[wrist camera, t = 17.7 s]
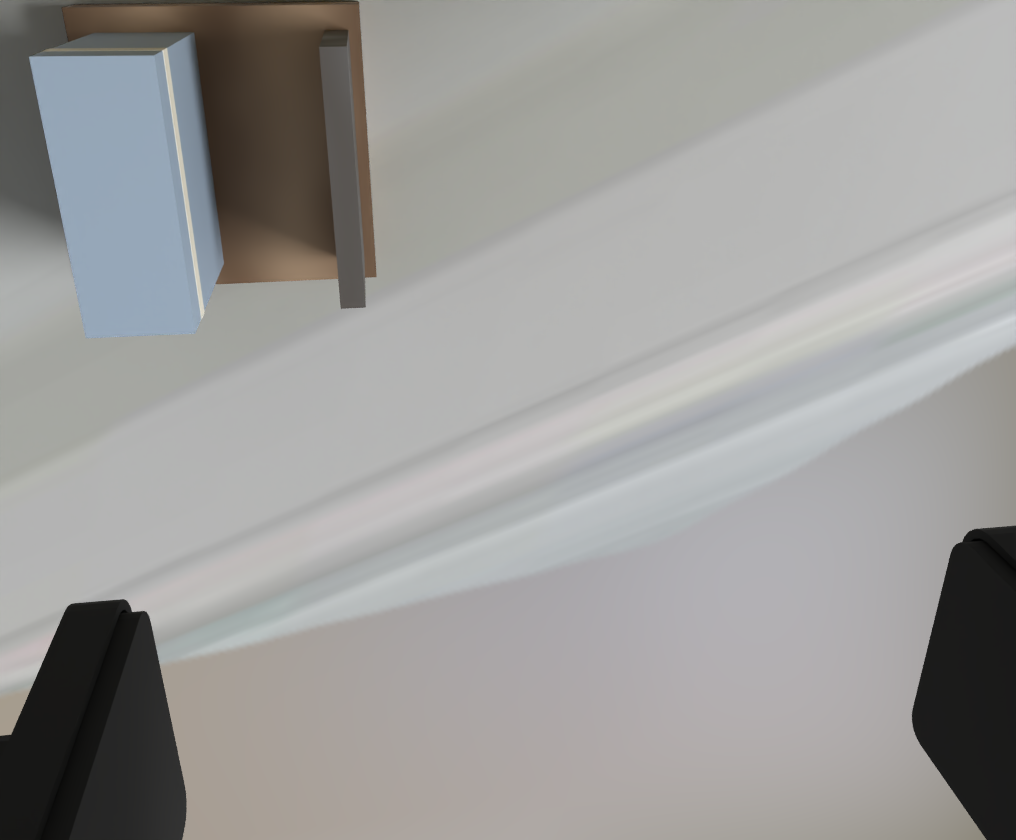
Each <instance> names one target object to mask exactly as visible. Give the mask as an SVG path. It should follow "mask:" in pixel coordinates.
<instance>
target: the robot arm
mask: <svg viewBox="0 0 1016 840" xmlns="http://www.w3.org/2000/svg"><path fill="white" fill-rule="evenodd" d="M912 723H913V728H914V732H915V735H916V737H917V739H918V741H919V743H920V745H921V746H922V748H923V749H924V750H925V752H926V753H927V755H928V756H929V757H930V759H931V761H932V762H933V763H934V765H935V766H936V767H937V769H938V770H939V772H940V773H941V775H942V776H943V778H944V779H945V780H946V782H947V783H948V785H949V786H950V788H951V789H952V790H953V792H954V793H955V795H956V796H957V798H958V799H959V801H960V802H961V803H962V805H963V806H964V808H965V809H966V811H967V812H968V814H969V815H970V816H971V818H972V819H973V821H974V822H975V823H976V825H977V826H978V828H979V829H980V831H981V832H982V834H983V835H984V836H985V838H986V839H987V840H1016V526H1007V527H995V528H983V529H974V530H972V531H969V532H968V533H967V534H966V536H965V537H964V539H963V542H961V543H958V544H956V545H955V546H954V547H953V549H952V552H951V555H950V558H949V563H948V567H947V571H946V575H945V579H944V583H943V587H942V591H941V596H940V599H939V604H938V608H937V612H936V616H935V620H934V624H933V628H932V632H931V636H930V640H929V645H928V649H927V653H926V657H925V661H924V665H923V669H922V673H921V677H920V682H919V686H918V690H917V695H916V698H915V702H914V706H913V711H912ZM185 821H186V791H185V785H184V780H183V776H182V771H181V766H180V761H179V756H178V751H177V746H176V742H175V737H174V732H173V727H172V722H171V718H170V713H169V708H168V703H167V698H166V694H165V689H164V684H163V679H162V675H161V670H160V665H159V660H158V655H157V650H156V646H155V641H154V636H153V631H152V626H151V622H150V618H149V616H148V614H147V612H145V611H140V612H132V611H131V607H130V605H129V603H128V602H127V601H126V600H124V599H122V600H110V601H98V602H86V603H74V604H71V605H69V606H68V607H67V609H66V610H65V612H64V615H63V617H62V619H61V621H60V624H59V626H58V628H57V631H56V633H55V635H54V638H53V640H52V642H51V644H50V647H49V649H48V651H47V654H46V656H45V658H44V661H43V663H42V665H41V667H40V670H39V672H38V674H37V677H36V679H35V681H34V684H33V686H32V688H31V691H30V693H29V695H28V697H27V700H26V702H25V704H24V707H23V709H22V711H21V714H20V716H19V718H18V720H17V723H16V725H15V728H14V730H13V732H12V734H11V735H5V736H0V840H182V837H183V832H184V827H185Z"/></svg>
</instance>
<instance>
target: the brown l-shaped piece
mask: <svg viewBox="0 0 1016 840" xmlns="http://www.w3.org/2000/svg"><path fill="white" fill-rule="evenodd" d="M62 12H63V17H64V22H65V28H66V33H67V38H68V42H70V41H73V40H76V39H79V38H81V37H84V36H87V35H90V34H92V33H146V32H194V35H195V43H196V51H197V58H198V66H199V74H200V82H201V89H202V97H203V105H204V113H205V120H206V128H207V136H208V143H209V151H210V159H211V167H212V174H213V182H214V190H215V198H216V205H217V213H218V221H219V229H220V236H221V244H222V252H223V260H224V264H223V267H222V269H221V272H220V274H219V277H218V279H217V281H216V284H232V283H254V282H276V281H299V280H321V279H338V281H339V293H340V305H341V309H342V308H363V307H366V304H365V278H366V277H376V261H375V246H374V230H373V215H372V200H371V184H370V169H369V153H368V138H367V123H366V107H365V92H364V76H363V61H362V46H361V30H360V15H359V2H279V3H179V4H78V5H70V6H66V7H62Z"/></svg>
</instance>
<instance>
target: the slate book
mask: <svg viewBox="0 0 1016 840" xmlns="http://www.w3.org/2000/svg"><path fill="white" fill-rule="evenodd" d="M29 60H30V65H31V70H32V74H33V79H34V84H35V89H36V94H37V99H38V104H39V109H40V114H41V119H42V124H43V129H44V134H45V139H46V144H47V149H48V154H49V158H50V163H51V168H52V173H53V178H54V183H55V188H56V193H57V198H58V203H59V208H60V213H61V218H62V223H63V228H64V233H65V238H66V243H67V247H68V252H69V257H70V262H71V267H72V272H73V277H74V282H75V287H76V292H77V297H78V302H79V307H80V312H81V317H82V322H83V327H84V331H85V336H86V338H102V337H125V336H148V335H171V334H194V333H196V330H197V328H198V325H199V323H200V320H201V319H202V317H203V315H204V313H205V312H204V311H205V308H206V306H207V303H208V301H209V299H210V296H211V294H212V291H213V289H214V286H215V284H216V281H217V279H218V277H219V274H220V272H221V269H222V267H223V264H224V260H223V252H222V244H221V236H220V229H219V221H218V213H217V205H216V198H215V190H214V182H213V174H212V167H211V159H210V151H209V143H208V136H207V128H206V120H205V113H204V105H203V97H202V89H201V82H200V74H199V66H198V58H197V51H196V43H195V35H194V32H146V33H92V34H90V35H87V36H84V37H81V38H79V39H76V40H73V41H70V42H68V43H65V44H62V45H59V46H57V47H54V48H51V49H46V50H43V51H42V52H40V53H37V54H35V55H32V56H29Z"/></svg>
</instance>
